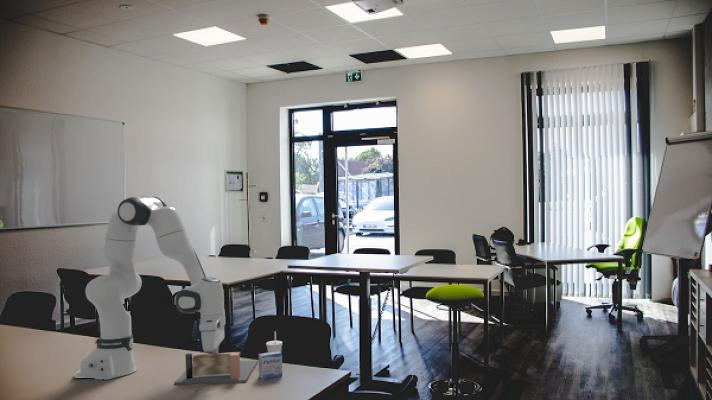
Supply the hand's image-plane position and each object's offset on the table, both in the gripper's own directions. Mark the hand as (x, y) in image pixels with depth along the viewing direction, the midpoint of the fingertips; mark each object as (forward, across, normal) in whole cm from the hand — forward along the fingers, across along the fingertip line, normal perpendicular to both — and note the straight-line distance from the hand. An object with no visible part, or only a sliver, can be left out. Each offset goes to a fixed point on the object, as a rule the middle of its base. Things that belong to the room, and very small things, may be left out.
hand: (215, 357), depth 204 cm
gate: (+6, +1, +1) cm, 6 cm away
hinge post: (+7, +2, -9) cm, 12 cm away
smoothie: (+8, -9, +21) cm, 24 cm away
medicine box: (+8, +2, +21) cm, 22 cm away
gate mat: (+7, -4, 0) cm, 8 cm away
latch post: (+7, +5, +8) cm, 12 cm away
